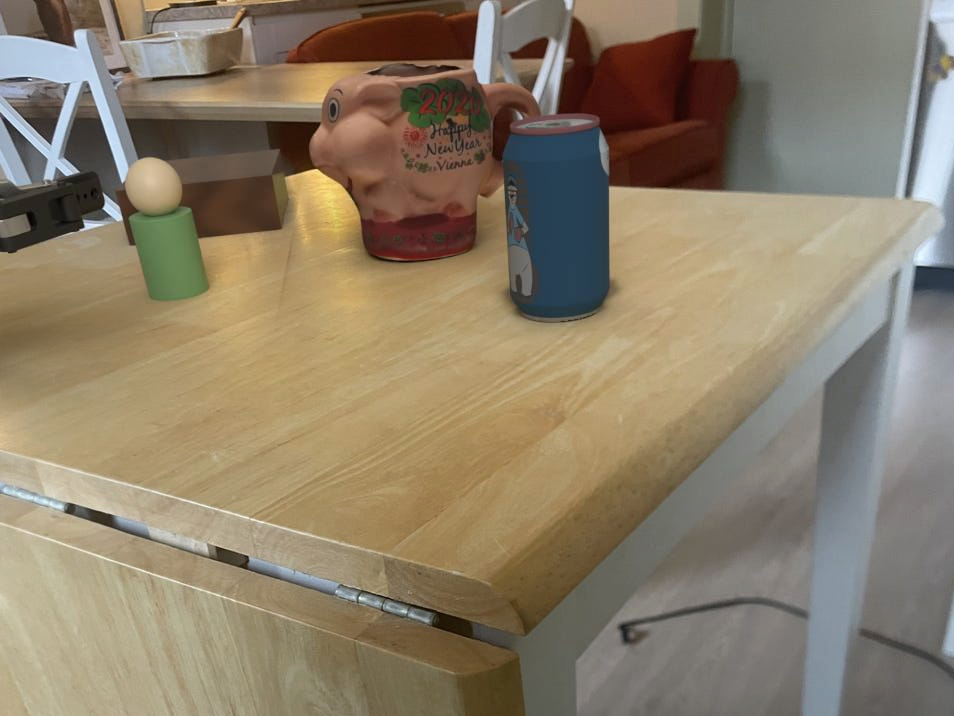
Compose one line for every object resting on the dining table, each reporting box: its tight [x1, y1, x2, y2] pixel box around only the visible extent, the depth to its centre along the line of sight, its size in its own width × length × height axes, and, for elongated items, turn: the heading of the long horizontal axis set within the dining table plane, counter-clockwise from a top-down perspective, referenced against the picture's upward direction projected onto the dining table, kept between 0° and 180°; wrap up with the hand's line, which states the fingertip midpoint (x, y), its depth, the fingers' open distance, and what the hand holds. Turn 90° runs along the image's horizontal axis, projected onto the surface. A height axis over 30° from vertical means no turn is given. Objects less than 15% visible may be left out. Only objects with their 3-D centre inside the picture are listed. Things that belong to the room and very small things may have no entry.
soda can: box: [502, 113, 611, 323], centre depth 68 cm, size 7×7×12 cm
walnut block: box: [114, 148, 289, 247], centre depth 98 cm, size 14×14×6 cm
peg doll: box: [124, 156, 210, 302], centre depth 76 cm, size 5×5×11 cm
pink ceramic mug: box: [308, 61, 542, 261], centre depth 85 cm, size 20×12×14 cm, turn 113°
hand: (46, 188), depth 65 cm, fingers open, 8 cm apart
